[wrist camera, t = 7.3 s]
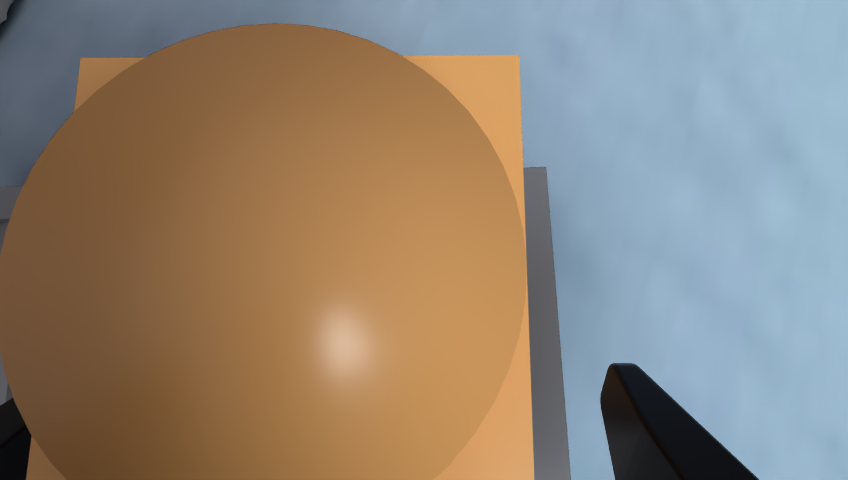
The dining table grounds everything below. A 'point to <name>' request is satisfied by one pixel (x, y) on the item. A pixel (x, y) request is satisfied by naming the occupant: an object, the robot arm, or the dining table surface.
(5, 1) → the canister
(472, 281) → the post
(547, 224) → the tray
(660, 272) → the dining table surface
